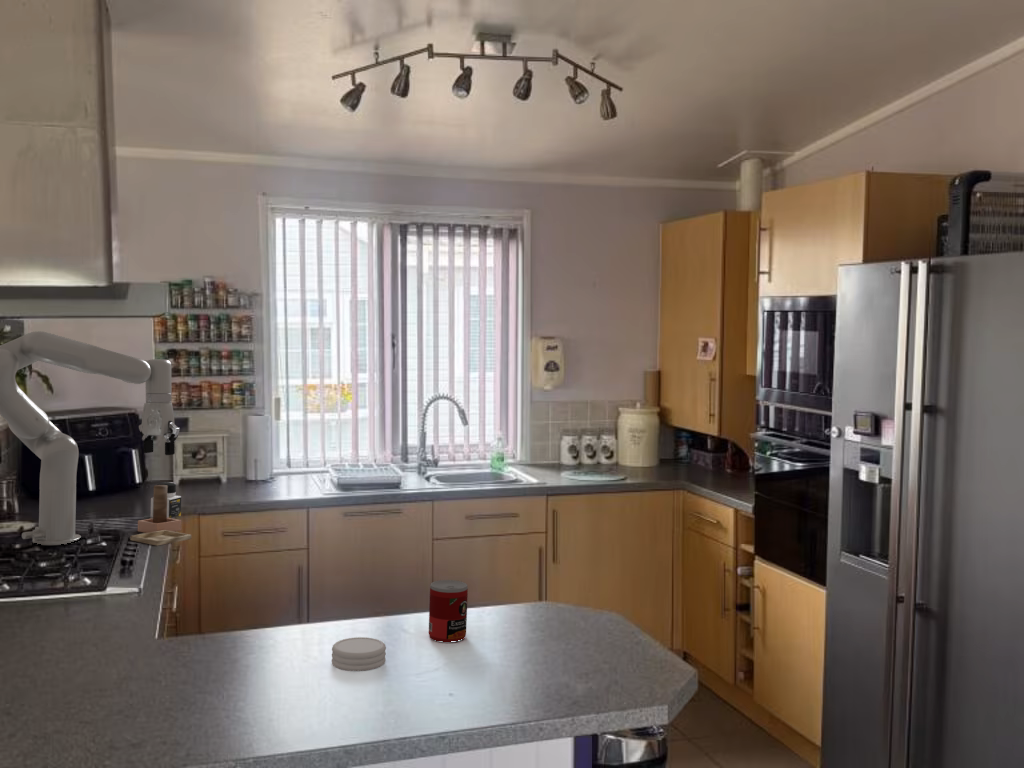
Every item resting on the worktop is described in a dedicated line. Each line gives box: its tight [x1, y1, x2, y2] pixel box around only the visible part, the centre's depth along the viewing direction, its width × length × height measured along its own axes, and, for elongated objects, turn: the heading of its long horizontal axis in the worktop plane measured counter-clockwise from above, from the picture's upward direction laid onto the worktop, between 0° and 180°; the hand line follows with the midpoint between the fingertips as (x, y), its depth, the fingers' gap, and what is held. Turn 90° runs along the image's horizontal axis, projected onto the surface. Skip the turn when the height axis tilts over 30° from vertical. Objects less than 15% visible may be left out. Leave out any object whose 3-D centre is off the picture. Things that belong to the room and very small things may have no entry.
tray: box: [129, 530, 192, 547], centre depth 261 cm, size 12×12×2 cm
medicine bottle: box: [150, 481, 182, 519], centre depth 299 cm, size 7×7×12 cm
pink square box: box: [137, 517, 182, 534], centre depth 274 cm, size 9×9×4 cm
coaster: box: [331, 636, 387, 672], centre depth 165 cm, size 10×10×4 cm
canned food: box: [428, 579, 469, 642], centre depth 181 cm, size 8×8×11 cm
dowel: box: [152, 484, 168, 523], centre depth 274 cm, size 4×4×14 cm
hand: (159, 453), depth 275 cm, fingers open, 9 cm apart
